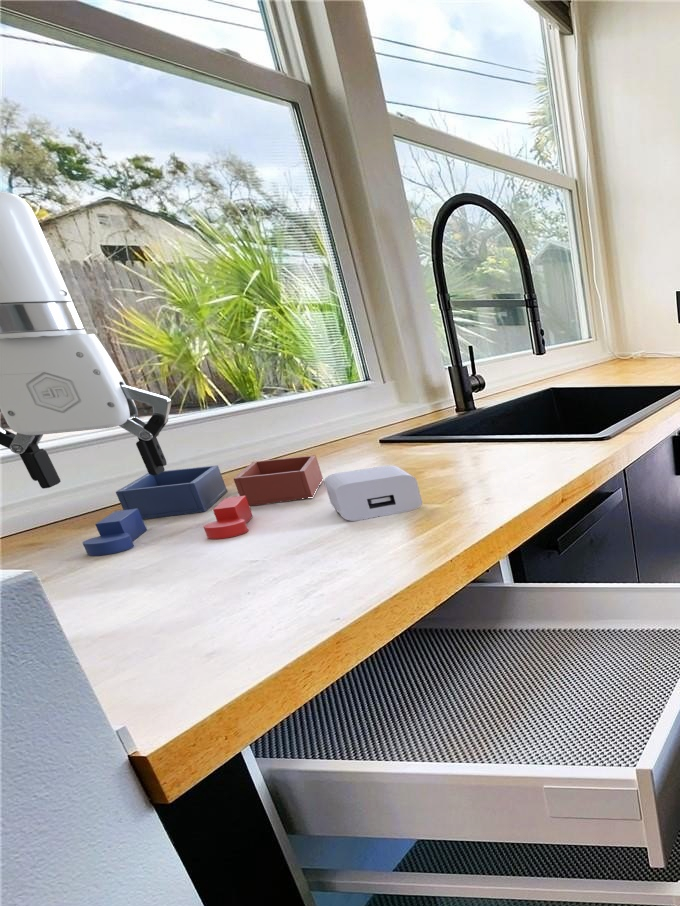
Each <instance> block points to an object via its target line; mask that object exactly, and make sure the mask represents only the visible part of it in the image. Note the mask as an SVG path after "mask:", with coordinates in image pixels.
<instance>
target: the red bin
mask: <svg viewBox="0 0 680 906" xmlns="http://www.w3.org/2000/svg"><path fill="white" fill-rule="evenodd" d="M322 479H323V480H324V477H323V474H322V471H321V468H320V465H319V461H318V458H317V455H315V454H314V455H305V456H295V457H285V458H276V459H267V460H256V461H252V462H251V463H249V464H248V465H247V466H246V467H245V468H244V469H242V470H241V472H239V473H238V474H237V475H236V476H234V477H233V482H234V485H235V487H236V490H237V493H238V495H239V496H246V499H247V501H248V504H249V507H253V506H252V505H255V506H261V505H260V504H263V505H268V504H267V503H271V504H275V503H274V502H279V503H281V502H280V501H287V502H290V501H289V500H295V499H302V498H308V497H313V495H314V493H315V491H316V489H317V488H318V486H319V484H320V482H321V481H322ZM318 489H319V488H318ZM314 496H315V495H314ZM313 498H314V497H313ZM295 501H296V500H295Z"/></svg>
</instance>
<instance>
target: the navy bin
mask: <svg viewBox="0 0 680 906" xmlns="http://www.w3.org/2000/svg"><path fill="white" fill-rule="evenodd" d="M227 492H228V489H227V486H226V483H225V480H224V478H223V475H222V473H221V470H220V467H219V465H218V464H217V465H208V466H199V467H198V466H197V467H189V468H188V467H187V468H179V469H169V470H164V471H163V472H162V473H160V474H158V475H150V474H149V473H148V472H147V473H145V474H143V475H142V476H140V477H139V478H137V479H135V480H134V481H132V482H130V483H128V484H127V485H125V486H123V487H121V488H119V489H118V490H116V491H115V494H116V497H117V499H118V501H119V504H120V506H121V508H122V510H129V509H138V510H139V512H140V515H141V517H142V519H143V520H151V519H157V518H158V519H159V518H165V517H175V516H181V515H190V514H191V515H192V514H198V513H205V512H207V511H208V510H210V508H211V507H212V506H213V505H214V504H215V503H216V502H217V501H218V500H220V499H221V498H222V497H223V496H224V495H225V494H226V493H227ZM221 496H222V497H221ZM220 497H221V498H220ZM219 498H220V499H219Z"/></svg>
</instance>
